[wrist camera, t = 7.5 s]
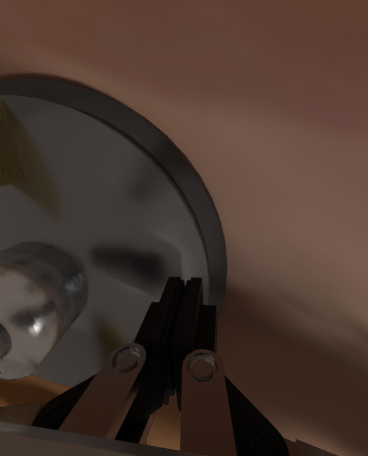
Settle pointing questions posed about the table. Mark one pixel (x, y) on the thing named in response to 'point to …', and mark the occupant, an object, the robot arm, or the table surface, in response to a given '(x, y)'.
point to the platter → (95, 222)
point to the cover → (35, 304)
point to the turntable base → (156, 146)
